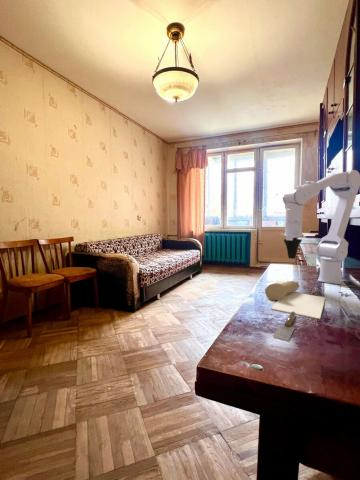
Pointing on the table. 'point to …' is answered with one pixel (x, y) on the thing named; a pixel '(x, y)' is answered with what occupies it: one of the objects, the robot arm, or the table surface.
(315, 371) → the table surface
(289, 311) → the felt mat
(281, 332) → the turner
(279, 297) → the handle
